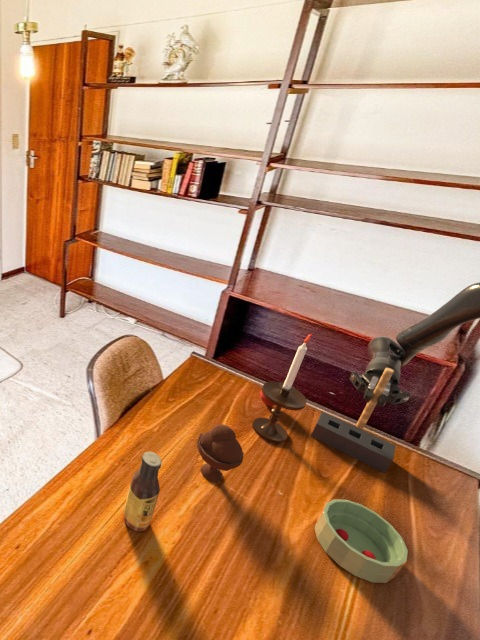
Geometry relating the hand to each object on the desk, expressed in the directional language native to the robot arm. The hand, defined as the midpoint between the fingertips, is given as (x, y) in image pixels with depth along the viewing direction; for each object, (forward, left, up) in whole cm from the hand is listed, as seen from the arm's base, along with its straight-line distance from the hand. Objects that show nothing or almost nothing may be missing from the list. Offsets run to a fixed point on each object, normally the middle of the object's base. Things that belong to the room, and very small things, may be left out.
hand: (374, 401), depth 105 cm
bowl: (-6, +32, -19) cm, 38 cm away
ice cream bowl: (+24, +36, -19) cm, 47 cm away
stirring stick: (0, -3, -11) cm, 11 cm away
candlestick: (+18, +8, -19) cm, 27 cm away
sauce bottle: (+31, +62, -19) cm, 72 cm away
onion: (+22, -4, -19) cm, 30 cm away
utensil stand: (0, -3, -19) cm, 19 cm away
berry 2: (-8, +34, -17) cm, 39 cm away
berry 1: (-3, +32, -17) cm, 36 cm away
